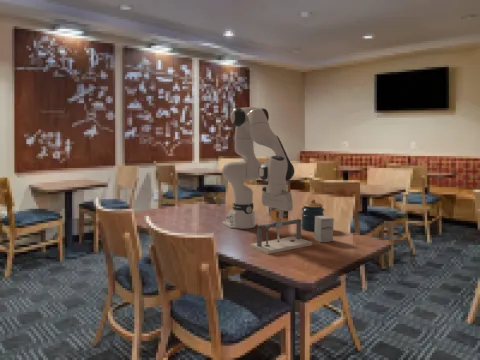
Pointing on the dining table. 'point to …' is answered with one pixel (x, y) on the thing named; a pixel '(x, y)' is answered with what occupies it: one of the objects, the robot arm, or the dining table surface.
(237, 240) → the dining table surface
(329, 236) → the supplement box
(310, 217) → the canister
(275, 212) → the leg
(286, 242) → the hole plate
